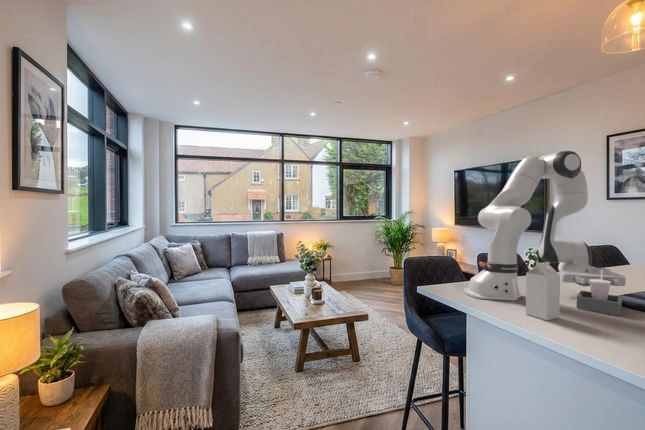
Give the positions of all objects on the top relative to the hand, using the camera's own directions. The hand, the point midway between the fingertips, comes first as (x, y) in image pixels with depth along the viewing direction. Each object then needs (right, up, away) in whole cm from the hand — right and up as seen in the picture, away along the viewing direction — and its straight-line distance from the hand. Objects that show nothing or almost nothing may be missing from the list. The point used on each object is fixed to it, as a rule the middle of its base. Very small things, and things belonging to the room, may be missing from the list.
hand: (600, 282), depth 115 cm
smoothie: (0, -9, +1) cm, 9 cm away
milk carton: (-28, -10, -7) cm, 30 cm away
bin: (0, -10, +1) cm, 10 cm away
